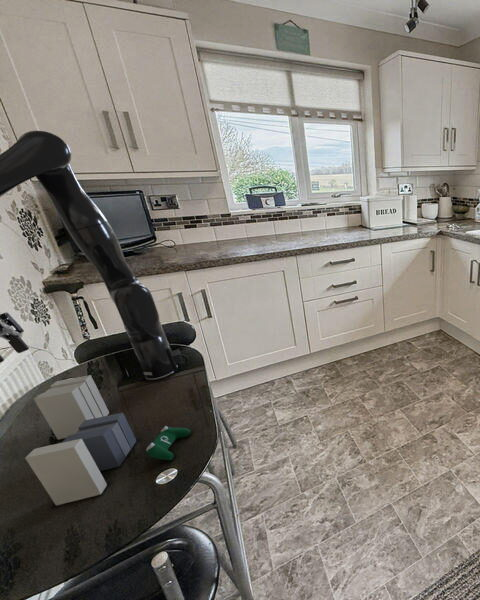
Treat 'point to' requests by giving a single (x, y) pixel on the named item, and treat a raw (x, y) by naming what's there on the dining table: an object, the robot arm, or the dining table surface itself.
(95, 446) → the grey books
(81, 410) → the white books
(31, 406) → the dining table surface
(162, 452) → the gaming controller
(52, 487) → the white book
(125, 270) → the robot arm
